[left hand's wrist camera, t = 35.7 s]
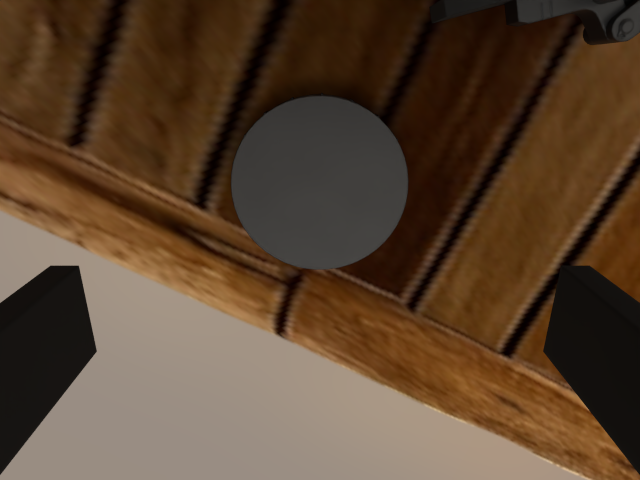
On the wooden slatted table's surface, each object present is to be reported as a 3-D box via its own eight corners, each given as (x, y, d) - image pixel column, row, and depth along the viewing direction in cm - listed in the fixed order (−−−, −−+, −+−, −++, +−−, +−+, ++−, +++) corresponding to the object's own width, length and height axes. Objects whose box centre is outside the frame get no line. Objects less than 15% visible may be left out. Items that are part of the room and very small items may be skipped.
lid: (388, 74, 28) (393, 74, 26) (415, 240, 32) (421, 251, 30) (215, 115, 29) (207, 118, 27) (261, 272, 33) (257, 285, 31)
